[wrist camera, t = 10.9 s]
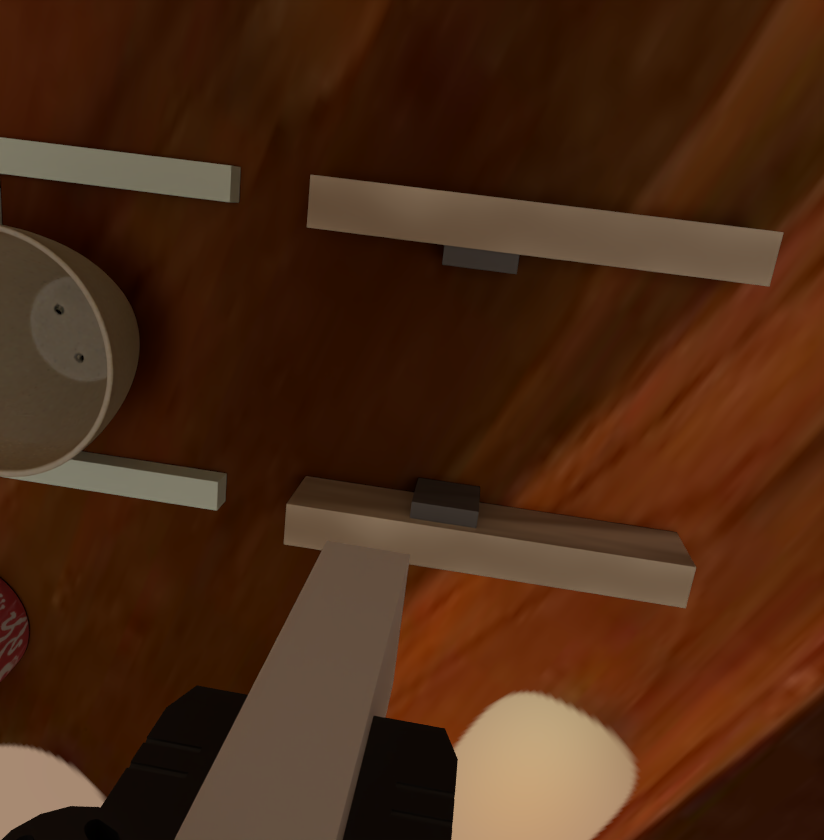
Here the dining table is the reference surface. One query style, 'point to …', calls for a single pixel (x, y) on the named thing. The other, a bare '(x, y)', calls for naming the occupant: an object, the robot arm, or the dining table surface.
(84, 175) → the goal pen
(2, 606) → the mug
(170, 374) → the dining table surface
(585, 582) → the twin plank rack
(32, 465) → the flower pot
